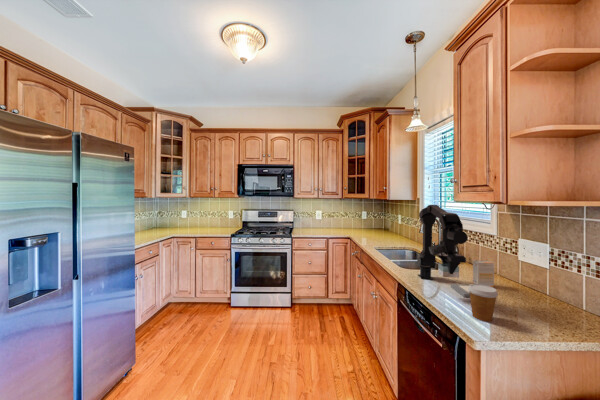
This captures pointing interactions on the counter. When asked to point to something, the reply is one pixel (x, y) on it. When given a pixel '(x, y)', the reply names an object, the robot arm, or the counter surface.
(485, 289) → the disposable coffee cup
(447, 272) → the block
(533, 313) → the counter surface
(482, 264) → the supplement box
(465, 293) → the stand
